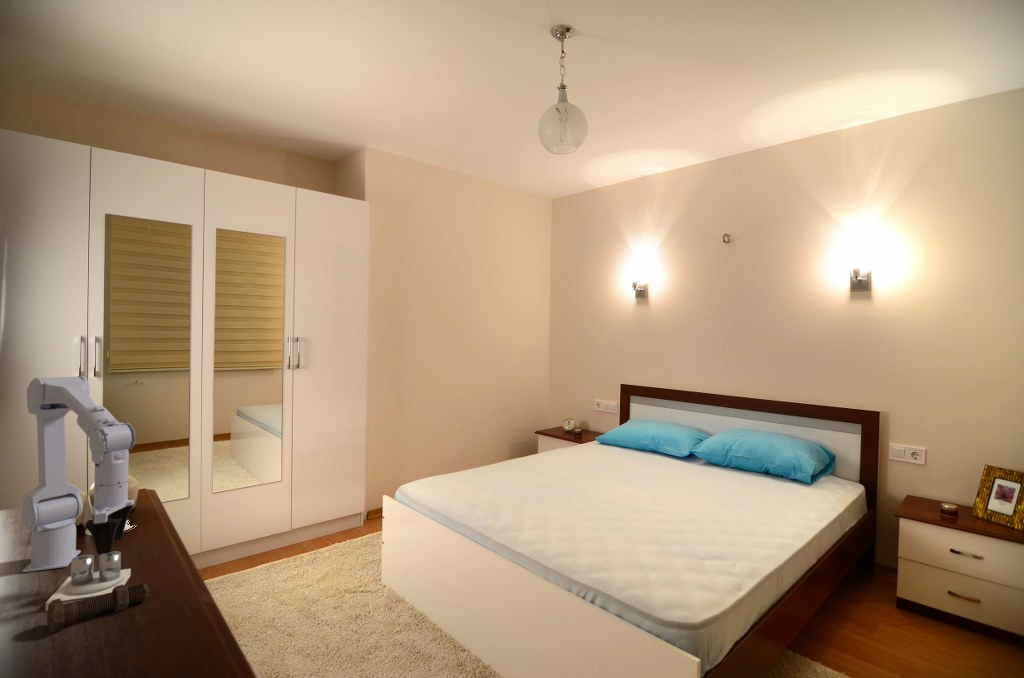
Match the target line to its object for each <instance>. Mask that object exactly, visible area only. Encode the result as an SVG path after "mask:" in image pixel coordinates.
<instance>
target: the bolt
mask: <svg viewBox="0 0 1024 678" xmlns="http://www.w3.org/2000/svg"><path fill="white" fill-rule="evenodd" d="M149 591H150V590H149V587H148V585H147V584H146V583H141V584H137V585H134V586H130V587H128V586H127V585H126V584H125V585H119V586H115V588H114V589H113V590H112V593H111V592H110V593H108V594H107V593H106V594H103V595H99V596H97V597H96V596H95V597H91V598H88V599H84V600H80V601H77V602H70V603H67V604H63V602H62V601H61V599H56V600H52V601H51V603H50V604H49V606H48V611H46V612H47V613H46V615H47V616H46V617H47V618H46V621H47V629H48V631H49V633H51V634H55V633H59V632H61V631H63V628H64V625H65V624H68V623H71V622H73V621H76V620H78V619H83V618H86V617H89V616H94V615H96V614H97V615H99V614H100V613H103V612H104V613H105V612H107V611H111V610H112V611H114V612H115V613H118V612H123V611H125V610H127V608H128V606H129V605H132V604H134V603H139V602H143V601H146V599H148V597H149Z"/></svg>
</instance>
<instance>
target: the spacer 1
mask: <svg viewBox="0 0 1024 678" xmlns="http://www.w3.org/2000/svg"><path fill="white" fill-rule="evenodd" d="M94 557H95V556H94V554H82V555H77V556H76V557H75V558H73V559H72V560H71V563H70V567H71V568H70V577H71V585H72V586H80V585H85V584H88V583H90V582H92V581H93V572H94V568H95V567H94V564H95V562H94V560H95V558H94Z"/></svg>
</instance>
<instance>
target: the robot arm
mask: <svg viewBox="0 0 1024 678" xmlns="http://www.w3.org/2000/svg"><path fill="white" fill-rule="evenodd" d="M90 389H91V388H90V382H89V380H88V379H87V378H86V377H85V376H83V375H78V376H67V377H66V376H64V377H61V376H60V377H42V378H41V377H34V378H33V379H32V380H31V381H30V382H29V384H28V386H27V388H26V399H27V401H26V402H27V404H26V405H27V411H28V412H27V413H29V414H32V415H35V417H36V432H37V435H36V436H37V459H38V462H37V465H38V485H37V486H36V487H34V488H33V489H32V490H31V491H30V492H28V493H26V495H24V496H23V499H22V508H21V512H20V518H21V519H20V520H21V523H22V525H23V527H24V528H25V529H26V530H29V531H31V533H30V534H31V539H30V541H31V542H30V543H31V548H30V563H29V564H28V565H27V566H26V567H25V568H23V569H22V572H23V573H28V572H36V571H44V570H51V569H52V570H53V569H60V568H61V569H62V568H66V567H68V566H70V565H71V560H72V559H73V558H75V557H77V556H79V554H80V553H81V552H82V551H81V550H80V549H77V527H76V524H75V523H76V522H77V521H76V520H77V519H78V518H79V517H80V516H81V515H82V512H83V505H84V504H83V500H82V497H81V493H80V488H79V487H78V486H77V485H74V484H71V483H69V482H67V458H66V457H67V455H66V451H67V450H66V431H65V430H66V428H65V427H66V426H65V417H66V415H67V414H68V413H69V412H71V411H72V412H73V413H75V414H76V415H77V418H76V424H77V425H78V427H79V428H80V429H81V430H82V432H83V433H85V435H86V436H87V437H88V445H89V449H90V452H91V453H90V454H91V462H92V463H94V478H93V479H94V484H93V485H94V486H93V493H94V494H93V505H92V510H93V519H88V520H87V521H86V522H85V528H86V530H87V529H88V530H89V531H90V533H91V535H92V536H91V537H92V539H93V542H94V546H95V550H96V552H97V554H98V555H102V554H106V553H110V552H112V549H113V546H114V543H115V542H114V541H119V540H122V539H123V536H124V533H125V532H124V529H125V525H126V521H127V520H128V517H129V515H130V512H131V510H132V509H133V507H134V504H135V499H129V467H130V465H129V464H130V463H129V460H130V459H129V457H130V456H129V455H130V450H133V448H134V446H135V443H136V432H135V429H134V427H133V426H132V424H131V423H129V422H125V423H124V422H119V421H118V420H117V419H116V418H115V417H114V415H113V414H112V413H111V412H110V411H109V410H108V409H107V408H106V407H105V406H103V405H96V403H95V402H94V401H93V398H92V397H91V396H90V392H91V391H90Z"/></svg>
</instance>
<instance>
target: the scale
mask: <svg viewBox="0 0 1024 678" xmlns="http://www.w3.org/2000/svg"><path fill="white" fill-rule="evenodd" d="M131 569H132V568H124V569H121V570H120V577H119V578H118V579H116V580H113V581H109V582H100V581H99V570H98V571H93V581H92V582H90V583H88V584H85V585H80V586H72V585H71V576H68V577H67V578H66V580H64V582H63V583H62V584H61V585H60V586H59V587H58V588H57V590H55V592H54V593H53V594H52V595H51V596H50V598H49V599H48V600H47V601H46V602H45V609H44V610H45V612H48V606H49V604H50V603H51V601H52V600H56V599H61V601H62V602H63V604H67V603H70V602H77V601H80V600H84V599H88V598H91V597H95V596H96V597H97V596H99V595H103V594H106V593H107V594H108V593H110V592H111V593H112V590H113V589H114V588H115V586H119V585H125V586H126V583H127V582H128V580H129V579H130V577H131V572H132V571H131Z"/></svg>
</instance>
